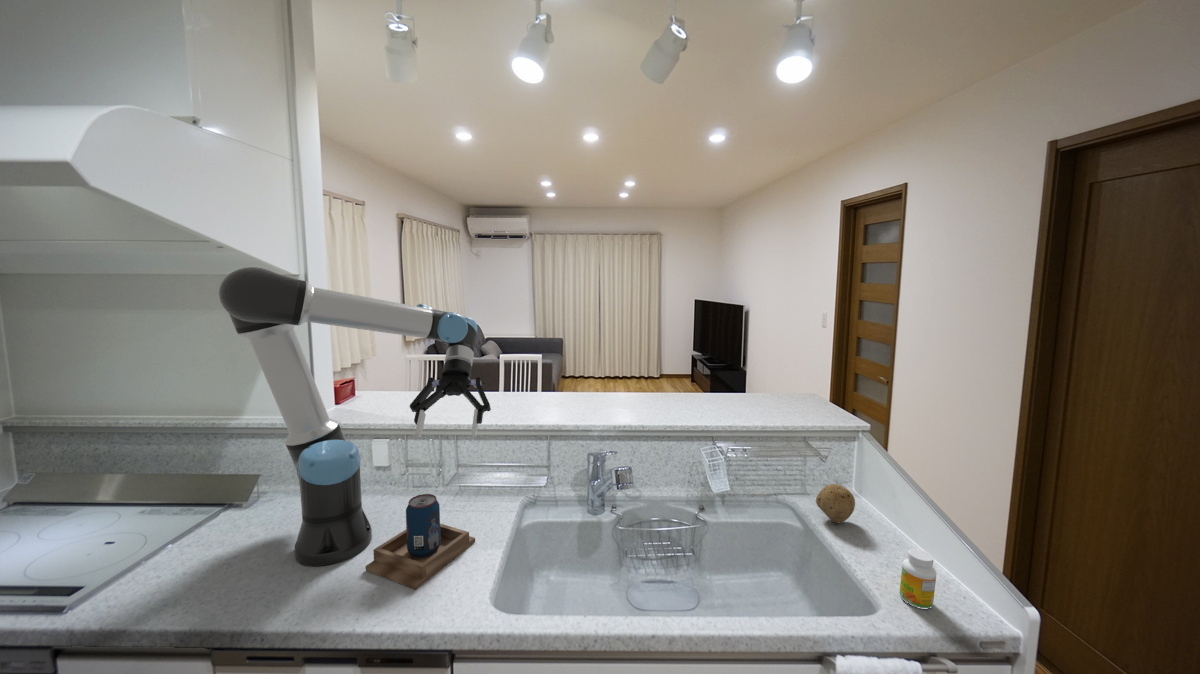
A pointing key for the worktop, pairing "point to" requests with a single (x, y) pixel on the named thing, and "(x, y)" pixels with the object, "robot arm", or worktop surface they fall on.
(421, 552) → the soda can
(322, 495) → the robot arm
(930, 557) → the supplement bottle
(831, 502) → the brown rounded lump
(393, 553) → the wooden tray
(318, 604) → the worktop surface
